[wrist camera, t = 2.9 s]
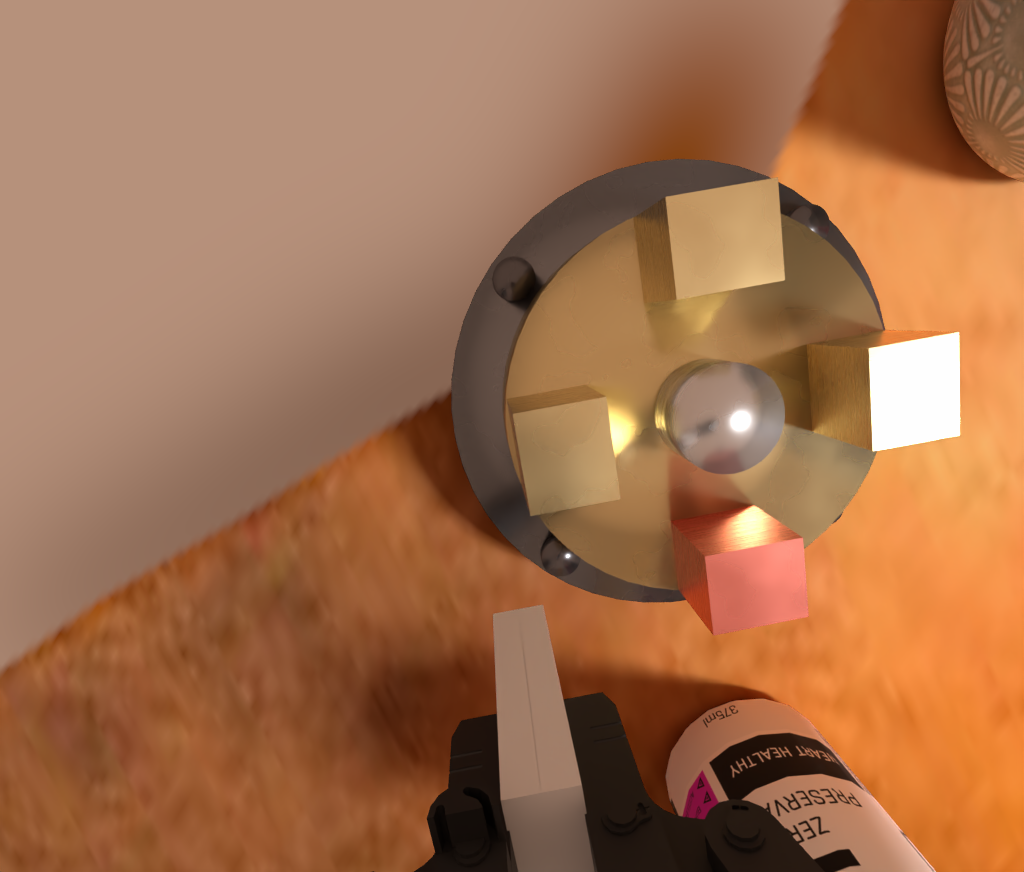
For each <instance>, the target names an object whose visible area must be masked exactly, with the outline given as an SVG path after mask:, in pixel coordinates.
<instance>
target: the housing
mask: <svg viewBox="0 0 1024 872" xmlns="http://www.w3.org/2000/svg"><path fill="white" fill-rule="evenodd" d="M766 179H771V178H770V177H768V176H765V175H762V174H759V173H756V172H754V171H751V170H748V169H745V168H742V167H739V166H735V165H730V164H725V163H720V162H714V161H709V160H689V159H674V160H663V161H654V162H645V163H641V164H638V165H633V166H629V167H625V168H621V169H617V170H614V171H612V172H609V173H607V174H604V175H602V176H599V177H597V178H594V179H592V180H590V181H587V182H585V183H583V184H581V185H580V186H578V187H576V188H574V189H573V190H571V191H569V192H567V193H566V194H564V195H562V196H560V197H559V198H557V199H556V200H555V201H554V202H552V203H551V204H549V205H548V206H547V207H546V208H544V209H543V210H542V211H540V212H539V213H538V214H536V215H535V216H534V217H533V218H532V219H531V220H530V221H529V222H528V223H527V224H526V225H525V226H524V227H523V228H522V229H521V230H520V231H519V232H518V233H517V234H516V235H515V236H514V237H513V238H512V239H511V240H510V241H509V243H508V244H507V245H506V246H505V248H504V249H503V250H502V252H501V253H500V254H499V255H498V257H497V258H496V259H495V261H494V262H493V263H492V264H491V266H490V268H489V270H488V271H487V273H486V275H485V277H484V278H483V280H482V282H481V283H480V286H479V287H478V289H477V290H476V292H475V295H474V297H473V299H472V302H471V304H470V307H469V309H468V311H467V314H466V316H465V319H464V321H463V325H462V329H461V333H460V336H459V340H458V344H457V348H456V352H455V359H454V367H453V374H452V416H453V424H454V432H455V439H456V443H457V446H458V450H459V454H460V457H461V461H462V465H463V468H464V470H465V472H466V475H467V477H468V479H469V482H470V484H471V487H472V489H473V491H474V493H475V495H476V497H477V498H478V500H479V502H480V503H481V505H482V507H483V508H484V510H485V512H486V513H487V515H488V516H489V518H490V519H491V520H492V522H493V523H494V524H495V525H496V527H497V528H498V529H499V530H500V532H501V533H502V534H503V535H504V537H505V538H506V539H507V540H508V541H509V542H510V543H512V544H513V545H514V546H515V547H516V548H517V549H518V550H519V551H520V552H521V553H522V554H523V555H524V556H525V557H527V558H528V559H529V560H531V561H532V562H534V563H535V564H536V565H538V566H539V567H540V568H542V569H543V570H544V571H546V572H548V573H550V574H551V575H553V576H555V577H557V578H559V579H561V580H563V581H564V582H566V583H568V584H571V585H573V586H576V587H578V588H581V589H583V590H586V591H589V592H591V593H594V594H598V595H603V596H607V597H611V598H615V599H620V600H628V601H637V602H675V601H682V600H686V599H685V597H684V596H683V595H682V593H681V592H680V591H679V590H670V589H662V588H653V587H647V586H643V585H639V584H635V583H631V582H627V581H625V580H622V579H620V578H617V577H615V576H612V575H610V574H607V573H605V572H603V571H601V570H600V569H598V568H596V567H594V566H592V565H591V564H589V563H587V562H585V561H584V560H583V559H581V558H580V557H579V556H577V555H576V554H575V553H573V552H572V551H571V550H569V549H568V548H567V547H566V546H565V545H564V544H563V543H562V542H561V541H560V540H559V539H558V538H557V537H556V536H555V535H554V534H553V533H552V532H551V531H550V530H549V529H548V528H547V526H546V525H545V524H544V522H543V521H542V520H541V519H540V517H539V516H538V515H534V516H530V512H529V509H528V506H527V502H526V499H525V495H524V492H523V488H522V486H521V483H520V481H519V478H518V476H517V473H516V471H515V468H514V464H513V461H512V457H511V453H510V449H509V445H508V441H507V437H506V433H505V428H504V419H503V410H502V398H503V380H504V374H505V367H506V361H507V358H508V354H509V351H510V347H511V344H512V340H513V337H514V335H515V333H516V330H517V328H518V326H519V324H520V321H521V319H522V317H523V315H524V313H525V312H526V310H527V308H528V307H529V305H530V303H531V301H532V300H533V298H534V296H535V295H536V294H537V292H538V291H539V290H540V289H541V287H542V286H543V285H544V283H545V282H546V281H547V280H548V278H549V277H550V276H551V275H552V274H553V273H554V272H555V271H556V270H557V269H558V268H559V267H560V266H561V265H562V264H563V263H564V262H565V261H566V260H567V259H568V258H570V257H571V256H572V255H574V254H575V253H576V252H578V251H579V250H580V249H582V248H583V247H584V246H586V245H587V244H588V243H590V242H591V241H593V240H594V239H596V238H597V237H599V236H600V235H602V234H603V233H605V232H607V231H608V230H610V229H612V228H614V227H616V226H617V225H619V224H621V223H623V222H625V221H626V220H628V219H631V218H633V217H635V216H637V215H638V214H640V213H641V212H643V211H644V210H646V209H648V208H649V207H651V206H652V205H654V204H655V203H657V202H658V201H660V200H661V199H663V198H665V197H668V196H674V195H679V194H685V193H691V192H697V191H702V190H708V189H714V188H720V187H725V186H731V185H737V184H743V183H748V182H754V181H760V180H766ZM778 186H779V201H780V213H781V214H784V215H786V216H788V217H790V218H792V219H793V220H795V221H797V222H799V223H801V224H803V225H805V226H807V227H808V228H810V229H811V230H812V231H814V232H815V233H817V234H818V235H819V236H821V237H822V238H823V239H825V240H826V241H828V242H829V243H830V244H831V245H832V246H833V247H834V248H835V249H836V250H837V251H838V252H839V253H840V254H841V255H842V256H843V257H844V258H845V259H846V260H847V262H848V263H849V264H850V266H851V267H852V268H853V269H854V271H855V272H856V273H857V275H858V276H859V277H860V279H861V280H862V282H863V284H864V286H865V288H866V289H867V291H868V293H869V295H870V297H871V298H872V300H873V302H874V305H875V308H876V310H877V313H878V315H879V318H880V321H881V323H882V327H883V330H885V328H884V324H883V319H882V315H881V311H880V306H879V302H878V300H877V297H876V294H875V292H874V289H873V287H872V284H871V281H870V279H869V276H868V274H867V272H866V271H865V269H864V267H863V265H862V263H861V262H860V260H859V258H858V256H857V254H856V252H855V251H854V249H853V248H852V247H851V245H850V244H849V243H848V241H847V240H846V239H845V237H844V236H843V235H842V233H841V232H840V231H839V229H838V228H837V227H836V226H835V225H834V224H833V223H832V222H831V221H830V220H829V218H828V215H827V213H826V212H825V210H824V209H823V208H821V207H820V206H818V205H814V204H811V203H810V202H809V201H807V200H806V199H805V198H803V197H802V196H801V195H799V194H798V193H797V192H795V191H794V190H792V189H790V188H788V187H787V186H785V185H783V184H781V183H779V182H778ZM654 414H655V423H656V427H657V430H658V433H659V435H660V437H661V438H662V440H663V441H664V443H665V444H666V445H667V446H668V447H669V448H670V449H672V450H673V451H674V452H676V453H677V454H679V455H680V456H682V457H683V458H685V459H686V460H688V461H689V462H691V463H692V464H694V465H696V466H697V467H699V468H700V469H703V470H705V471H707V472H711V473H715V474H735V473H739V472H743V471H745V470H748V469H750V468H752V467H754V466H755V465H757V464H758V463H760V462H761V461H762V460H763V459H765V458H766V457H767V456H768V455H769V453H770V452H771V451H772V450H773V448H774V447H775V445H776V444H777V442H778V440H779V438H780V436H781V433H782V430H783V426H784V420H785V407H784V401H783V398H782V394H781V392H780V390H779V388H778V386H777V385H776V383H775V382H774V381H773V380H772V378H771V377H770V376H768V375H767V374H766V373H765V372H763V371H762V370H760V369H759V368H756V367H754V366H752V365H748V364H744V363H737V362H731V361H725V360H718V359H707V358H706V359H698V360H694V361H691V362H689V363H686V364H685V365H683V366H681V367H679V368H678V369H677V370H675V371H674V372H673V373H672V374H671V375H670V376H669V377H668V378H667V379H666V381H665V382H664V384H663V385H662V387H661V389H660V391H659V393H658V396H657V399H656V403H655V412H654ZM842 513H843V512H842ZM842 513H841V514H840V515H839V516H838V518H837V519H836V520H835V521H834V522H836V521H837V520H838V519H839V518H840V517H841V515H842ZM834 522H833V523H834ZM833 523H832V524H833Z"/></svg>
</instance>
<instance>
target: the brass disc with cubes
mask: <svg viewBox="0 0 1024 872" xmlns="http://www.w3.org/2000/svg"><path fill="white" fill-rule="evenodd" d="M706 358H707V359H718V360H725V361H731V362H737V363H744V364H748V365H752V366H754V367H756V368H759V369H760V370H762V371H763V372H765V373H766V374H767V375H768V376H770V377H771V378H772V380H773V381H774V382H775V383H776V385H777V386H778V388H779V390H780V392H781V394H782V398H783V401H784V407H785V420H784V426H783V430H782V433H781V436H780V438H779V440H778V442H777V444H776V445H775V447H774V448H773V450H772V451H771V452H770V453H769V455H768V456H767V457H766V458H765V459H763V460H762V461H761V462H760V463H758V464H757V465H755V466H754V467H752V468H750V469H748V470H745V471H743V472H739V473H735V474H715V473H711V472H707V471H705V470H703V469H700V468H699V467H697V466H696V465H694V464H692V463H691V462H689V461H688V460H686V459H685V458H683V457H682V456H680V455H679V454H677V453H676V452H674V451H673V450H672V449H670V448H669V447H668V446H667V445H666V444H665V443H664V441H663V440H662V438H661V437H660V435H659V433H658V430H657V427H656V423H655V414H654V412H655V403H656V399H657V396H658V393H659V391H660V389H661V387H662V385H663V384H664V382H665V381H666V379H667V378H668V377H669V376H670V375H671V374H672V373H673V372H674V371H675V370H677V369H678V368H679V367H681V366H683V365H685V364H686V363H689V362H691V361H694V360H698V359H706ZM502 410H503V419H504V428H505V433H506V437H507V441H508V445H509V449H510V453H511V457H512V461H513V464H514V468H515V471H516V473H517V476H518V478H519V481H520V483H521V486H522V488H523V492H524V495H525V499H526V502H527V506H528V509H529V512H530V516H534V515H538V516H539V517H540V519H541V520H542V521H543V522H544V524H545V525H546V526H547V528H548V529H549V530H550V531H551V532H552V533H553V534H554V535H555V536H556V537H557V538H558V539H559V540H560V541H561V542H562V543H563V544H564V545H565V546H566V547H567V548H568V549H569V550H571V551H572V552H573V553H575V554H576V555H577V556H579V557H580V558H581V559H583V560H584V561H585V562H587V563H589V564H591V565H592V566H594V567H596V568H598V569H600V570H601V571H603V572H605V573H607V574H610V575H612V576H615V577H617V578H620V579H622V580H625V581H627V582H631V583H635V584H639V585H643V586H647V587H653V588H662V589H670V590H679V591H680V592H681V593H682V595H683V596H684V597H685V599H686V600H687V601H688V603H689V604H690V605H691V606H692V608H693V609H694V610H695V612H696V613H697V614H698V616H699V617H700V618H701V620H702V621H703V622H704V624H705V625H706V626H707V627H708V629H709V630H710V631H711V633H712V634H713V635H718V634H723V633H728V632H733V631H738V630H743V629H749V628H754V627H759V626H764V625H769V624H774V623H779V622H784V621H789V620H794V619H799V618H804V617H809V616H808V602H807V588H806V573H805V559H804V548H806V547H807V546H808V545H810V544H811V543H812V542H813V541H814V540H815V539H816V538H818V537H819V536H820V535H821V534H822V533H823V532H824V531H826V530H827V528H828V527H829V526H830V525H831V524H832V523H833V522H834V521H835V520H836V519H837V518H838V516H839V515H840V514H841V513H842V512H843V511H844V509H845V508H846V506H847V505H848V504H849V502H850V501H851V500H852V498H853V497H854V495H855V494H856V493H857V491H858V489H859V487H860V486H861V484H862V482H863V480H864V479H865V477H866V475H867V473H868V471H869V469H870V467H871V465H872V462H873V460H874V457H875V455H876V453H877V450H883V449H888V448H893V447H899V446H904V445H909V444H914V443H920V442H925V441H930V440H936V439H941V438H946V437H951V436H957V435H960V402H959V332H939V331H896V330H883V327H882V323H881V321H880V318H879V315H878V313H877V310H876V308H875V305H874V302H873V300H872V298H871V297H870V295H869V293H868V291H867V289H866V288H865V286H864V284H863V282H862V280H861V279H860V277H859V276H858V275H857V273H856V272H855V271H854V269H853V268H852V267H851V266H850V264H849V263H848V262H847V260H846V259H845V258H844V257H843V256H842V255H841V254H840V253H839V252H838V251H837V250H836V249H835V248H834V247H833V246H832V245H831V244H830V243H829V242H828V241H826V240H825V239H823V238H822V237H821V236H819V235H818V234H817V233H815V232H814V231H812V230H811V229H810V228H808V227H807V226H805V225H803V224H801V223H799V222H797V221H795V220H793V219H792V218H790V217H788V216H786V215H784V214H781V213H780V201H779V186H778V177H777V178H771V179H766V180H760V181H754V182H748V183H743V184H737V185H731V186H725V187H720V188H714V189H708V190H702V191H697V192H691V193H685V194H679V195H674V196H668V197H665V198H663V199H661V200H660V201H658V202H657V203H655V204H654V205H652V206H651V207H649V208H648V209H646V210H644V211H643V212H641V213H640V214H638V215H637V216H635V217H633V218H631V219H628V220H626V221H625V222H623V223H621V224H619V225H617V226H616V227H614V228H612V229H610V230H608V231H607V232H605V233H603V234H602V235H600V236H599V237H597V238H596V239H594V240H593V241H591V242H590V243H588V244H587V245H586V246H584V247H583V248H582V249H580V250H579V251H578V252H576V253H575V254H574V255H572V256H571V257H570V258H568V259H567V260H566V261H565V262H564V263H563V264H562V265H561V266H560V267H559V268H558V269H557V270H556V271H555V272H554V273H553V274H552V275H551V276H550V277H549V278H548V280H547V281H546V282H545V283H544V285H543V286H542V287H541V289H540V290H539V291H538V292H537V294H536V295H535V296H534V298H533V300H532V301H531V303H530V305H529V307H528V308H527V310H526V312H525V313H524V315H523V317H522V319H521V321H520V324H519V326H518V328H517V330H516V333H515V335H514V337H513V340H512V344H511V347H510V351H509V354H508V358H507V361H506V367H505V374H504V380H503V398H502Z"/></svg>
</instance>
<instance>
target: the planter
mask: <svg viewBox="0 0 1024 872" xmlns="http://www.w3.org/2000/svg"><path fill="white" fill-rule="evenodd" d="M943 72H944V84H945V90H946V96H947V100H948V104H949V107H950V111H951V113H952V116H953V118H954V121H955V123H956V125H957V127H958V129H959V131H960V133H961V134H962V136H963V137H964V139H965V140H966V142H967V143H968V145H969V146H970V147H971V148H972V149H973V151H974V152H975V153H976V154H977V155H978V156H979V157H980V158H982V159H983V160H984V161H985V162H986V163H987V164H989V165H990V166H992V167H993V168H994V169H996V170H997V171H999V172H1001V173H1003V174H1005V175H1006V176H1008V177H1011V178H1013V179H1016V180H1019V181H1022V182H1024V0H955V1H954V5H953V8H952V11H951V15H950V18H949V22H948V26H947V31H946V36H945V44H944V55H943Z"/></svg>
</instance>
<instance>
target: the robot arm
mask: <svg viewBox="0 0 1024 872" xmlns="http://www.w3.org/2000/svg"><path fill="white" fill-rule="evenodd" d="M493 628H494V652H495V676H496V700H497V714H493V715H488V716H483V717H478V718H472V719H467V720H462V721H461V722H460V724H459V725H458V727H457V729H456V731H455V733H454V734H453V736H452V741H451V755H450V756H451V759H450V774H449V784H448V789H447V790H446V791H444V792H443V793H441V794H440V795H439V796H438V797H437V799H436V800H435V801H434V803H433V804H432V805H431V807H430V810H429V813H428V816H427V821H428V825H429V829H430V833H431V837H432V841H433V845H434V849H435V854H434V855H433V857H432V858H431V859H430V860H429V861H428V862H427V863H425V864H424V865H423V866H422V867H420V868H419V869H417V870H416V871H414V872H824V870H823V869H822V868H821V867H820V866H819V865H818V864H817V863H816V862H815V861H814V859H813V858H812V857H811V856H810V855H809V854H808V853H807V852H806V851H805V850H804V848H803V847H802V846H801V845H800V844H799V843H798V842H797V841H796V840H795V839H794V837H793V836H792V835H791V834H790V833H789V832H788V831H787V830H786V829H785V828H784V826H783V825H782V824H781V823H780V822H779V821H778V820H777V819H776V818H775V817H774V816H773V815H772V814H771V813H769V812H768V811H767V810H766V809H765V808H763V807H762V806H759V805H757V804H755V803H752V802H750V801H746V800H736V799H731V800H727V801H723V802H719V803H718V804H716V805H715V806H714V807H712V808H711V809H710V810H709V811H708V813H707V815H706V817H705V819H698V818H689V817H683V816H678V815H674V814H672V813H669V812H667V811H665V810H663V809H662V808H660V807H659V806H658V805H656V804H655V803H654V802H653V801H652V800H651V798H650V797H649V796H648V794H647V792H646V790H645V788H644V786H643V783H642V780H641V777H640V774H639V771H638V769H637V766H636V763H635V760H634V757H633V754H632V751H631V748H630V745H629V743H628V740H627V738H626V734H625V731H624V728H623V725H622V723H621V720H620V717H619V714H618V711H617V708H616V705H615V704H614V703H613V702H612V701H611V700H610V699H609V698H608V697H607V696H606V695H605V694H603V693H602V692H601V693H596V694H590V695H585V696H580V697H575V698H569V699H564V700H563V696H562V691H561V686H560V682H559V677H558V673H557V668H556V663H555V659H554V654H553V649H552V645H551V640H550V636H549V631H548V626H547V622H546V617H545V612H544V608H543V605H538V606H533V607H528V608H522V609H517V610H512V611H506V612H501V613H496V614H493ZM373 872H374V871H373Z"/></svg>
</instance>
